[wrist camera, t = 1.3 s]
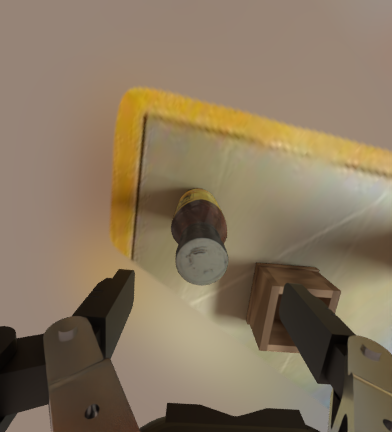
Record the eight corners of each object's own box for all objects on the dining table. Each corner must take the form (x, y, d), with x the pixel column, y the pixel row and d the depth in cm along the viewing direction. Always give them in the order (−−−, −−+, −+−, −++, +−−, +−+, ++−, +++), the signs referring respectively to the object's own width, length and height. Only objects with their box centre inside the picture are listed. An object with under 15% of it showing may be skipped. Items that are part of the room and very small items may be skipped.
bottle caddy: (316, 267, 38) (343, 289, 31) (302, 324, 40) (324, 356, 33) (256, 262, 37) (270, 283, 30) (246, 320, 40) (257, 351, 33)
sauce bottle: (184, 182, 34) (173, 202, 14) (220, 193, 34) (257, 227, 15) (173, 220, 35) (151, 284, 16) (209, 230, 36) (228, 304, 16)
